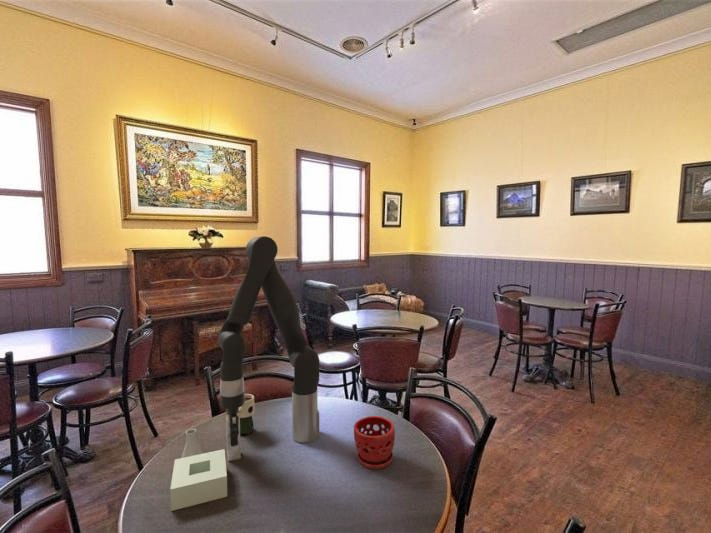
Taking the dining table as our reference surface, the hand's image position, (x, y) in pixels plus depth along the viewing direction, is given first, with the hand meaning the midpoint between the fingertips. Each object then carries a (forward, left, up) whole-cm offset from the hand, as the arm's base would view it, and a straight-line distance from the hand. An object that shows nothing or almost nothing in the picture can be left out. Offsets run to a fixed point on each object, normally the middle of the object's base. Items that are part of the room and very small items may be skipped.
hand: (233, 438), depth 118 cm
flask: (+13, -3, -6) cm, 15 cm away
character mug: (-5, -15, -6) cm, 17 cm away
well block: (+10, +12, -6) cm, 17 cm away
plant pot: (-42, +20, -6) cm, 47 cm away
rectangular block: (0, 0, -6) cm, 6 cm away
